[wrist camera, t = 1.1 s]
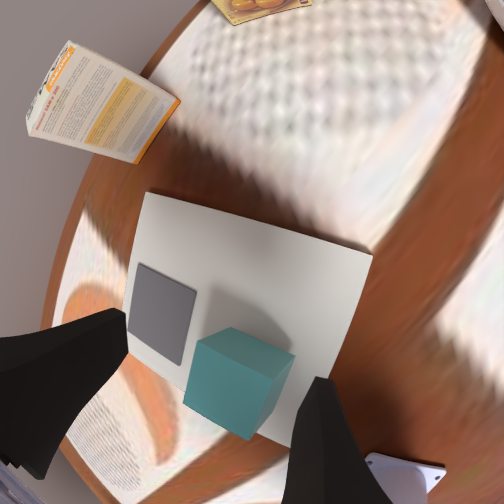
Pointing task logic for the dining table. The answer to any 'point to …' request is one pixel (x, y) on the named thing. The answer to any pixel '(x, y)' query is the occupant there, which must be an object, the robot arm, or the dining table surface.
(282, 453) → the dining table surface
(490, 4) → the bowl
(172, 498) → the dining table surface
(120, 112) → the supplement box
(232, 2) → the candy box
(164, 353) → the charcoal mat
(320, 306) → the pale board
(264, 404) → the turquoise box
